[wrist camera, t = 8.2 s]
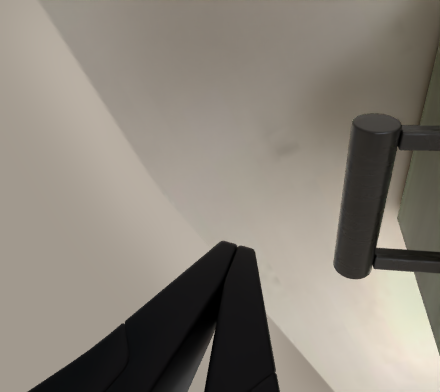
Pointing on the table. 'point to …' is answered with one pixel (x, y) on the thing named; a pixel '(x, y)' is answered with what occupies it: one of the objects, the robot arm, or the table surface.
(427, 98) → the drawer
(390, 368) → the table surface
